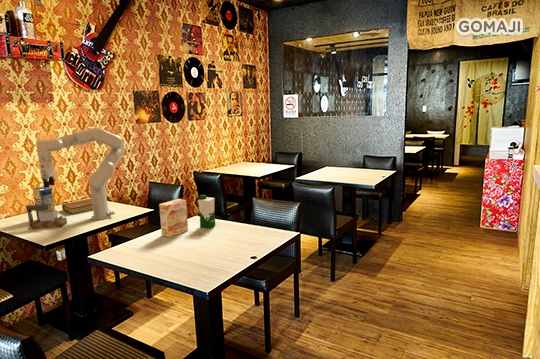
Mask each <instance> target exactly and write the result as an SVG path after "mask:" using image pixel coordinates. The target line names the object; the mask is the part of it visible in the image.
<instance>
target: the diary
mask: <svg viewBox="0 0 540 359" xmlns="http://www.w3.org/2000/svg"><path fill="white" fill-rule="evenodd" d="M61 210H62V211H63V212H65V213H67V214H69V215H71V216H74V215H79V214H82V213H88V212H93V206H92V198H86V199H81V200H76V201H71V202H66V203H62V204H61Z"/></svg>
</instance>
